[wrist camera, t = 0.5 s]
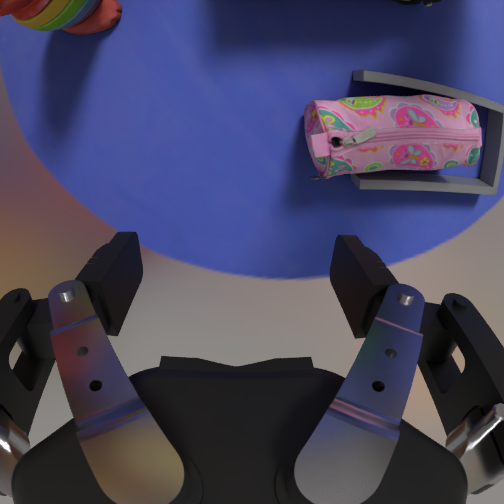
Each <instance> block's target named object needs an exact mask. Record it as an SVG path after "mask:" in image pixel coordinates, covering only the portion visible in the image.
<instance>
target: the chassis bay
mask: <svg viewBox="0 0 504 504" xmlns="http://www.w3.org/2000/svg"><path fill="white" fill-rule="evenodd" d="M353 81H363V82H371V83H379V84H386V85H393V86H399V87H405V88H410V89H416V90H421V91H426V92H430V93H435V94H439V95H443V96H447V97H451V98H455V99H465V100H467V101H468V102H470V103H472V104H476V105H479V106H482V107H485V108H488V122H487V132H486V141H485V149H484V156H483V162H482V168H481V174H480V179H477V178H468V177H459V176H449V175H437V174H424V173H408V172H388V171H373V172H365V173H353V174H351V179H350V180H351V181H352V182H353V183H354V184H355V185H356V186H357V187H358V188H359V189H378V190H419V191H441V192H458V193H473V194H485V195H496V193H497V189H498V184H499V179H500V174H501V169H502V163H503V157H504V105H502V104H499V103H497V102H494V101H491V100H489V99H486V98H483V97H480V96H477V95H474V94H471V93H468V92H465V91H461V90H458V89H455V88H451V87H447V86H444V85H440V84H436V83H432V82H428V81H423V80H419V79H414V78H409V77H404V76H399V75H393V74H387V73H380V72H373V71H366V70H360V71H353Z"/></svg>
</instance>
